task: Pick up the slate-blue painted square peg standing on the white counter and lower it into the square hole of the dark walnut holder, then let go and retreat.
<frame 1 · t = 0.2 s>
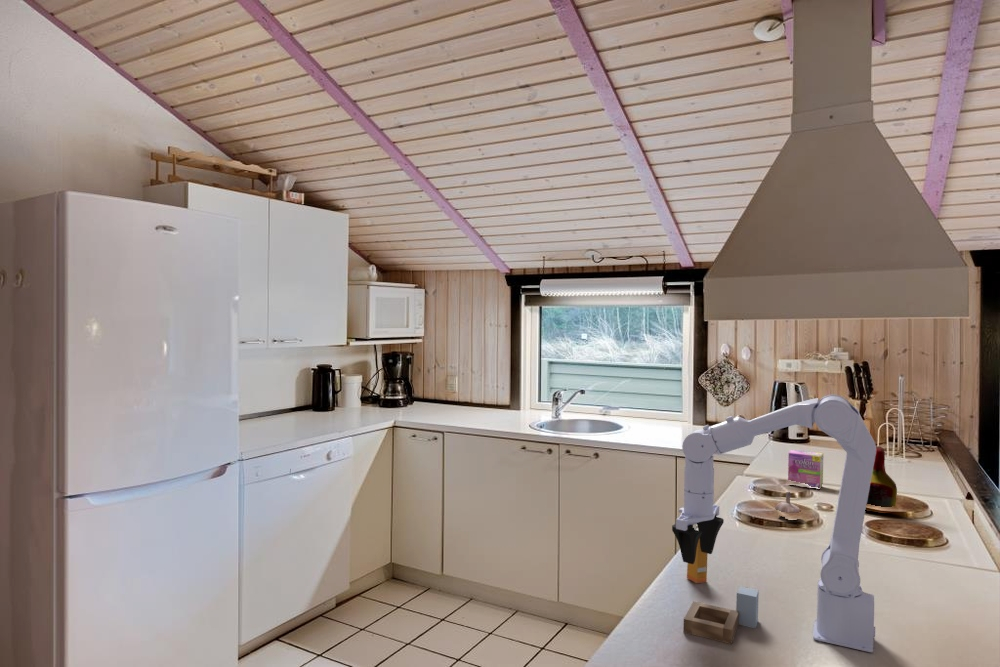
hand: (697, 557, 131), 10 cm above the countertop, fingers open, 7 cm apart
peg: (746, 622, 125), on the countertop
garlic bulb: (788, 519, 189), on the countertop
bottle: (873, 512, 197), on the countertop
walnut holder: (711, 628, 122), on the countertop
supplement box: (697, 581, 144), on the countertop
box: (805, 486, 226), on the countertop
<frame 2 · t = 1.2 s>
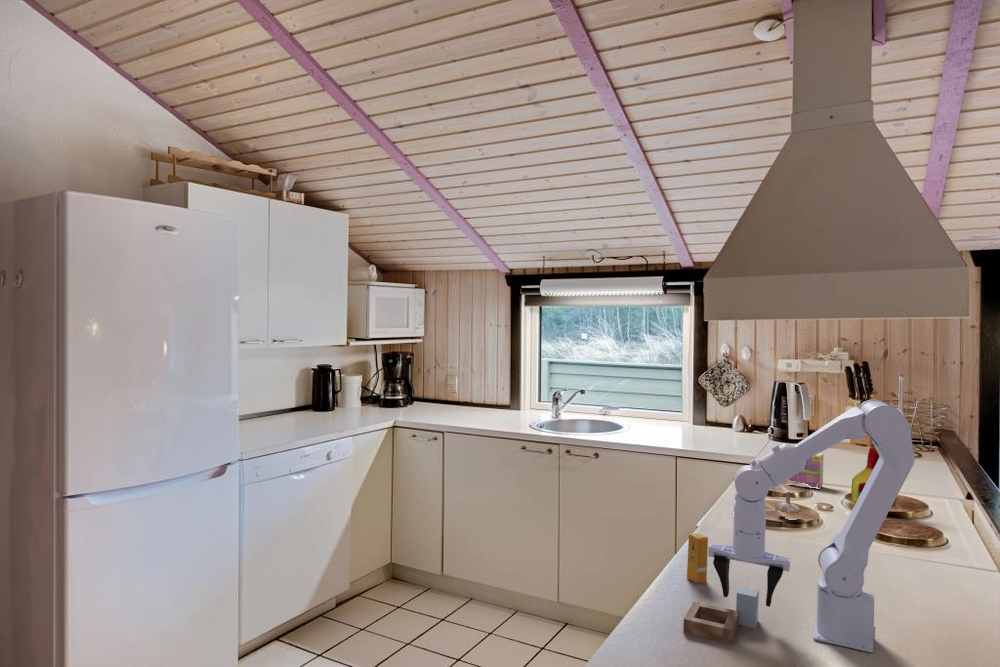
hand: (746, 599, 125), 4 cm above the countertop, fingers open, 7 cm apart
nothing on the countertop moved.
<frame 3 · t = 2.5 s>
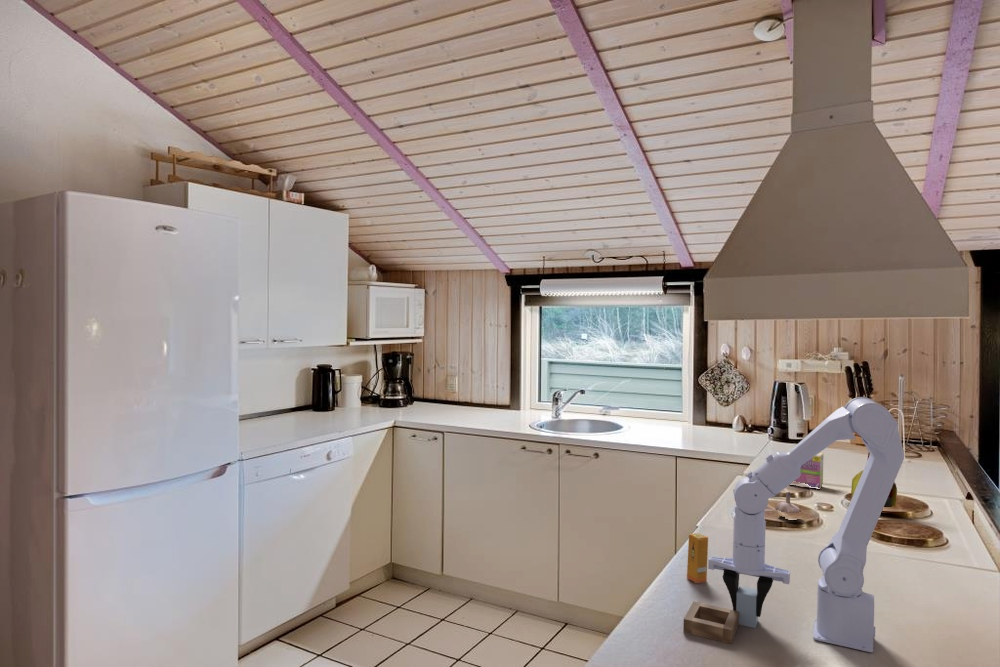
hand: (747, 612, 125), 2 cm above the countertop, fingers closed on peg, 3 cm apart
peg: (746, 622, 125), on the countertop, touching gripper
everything else where it was.
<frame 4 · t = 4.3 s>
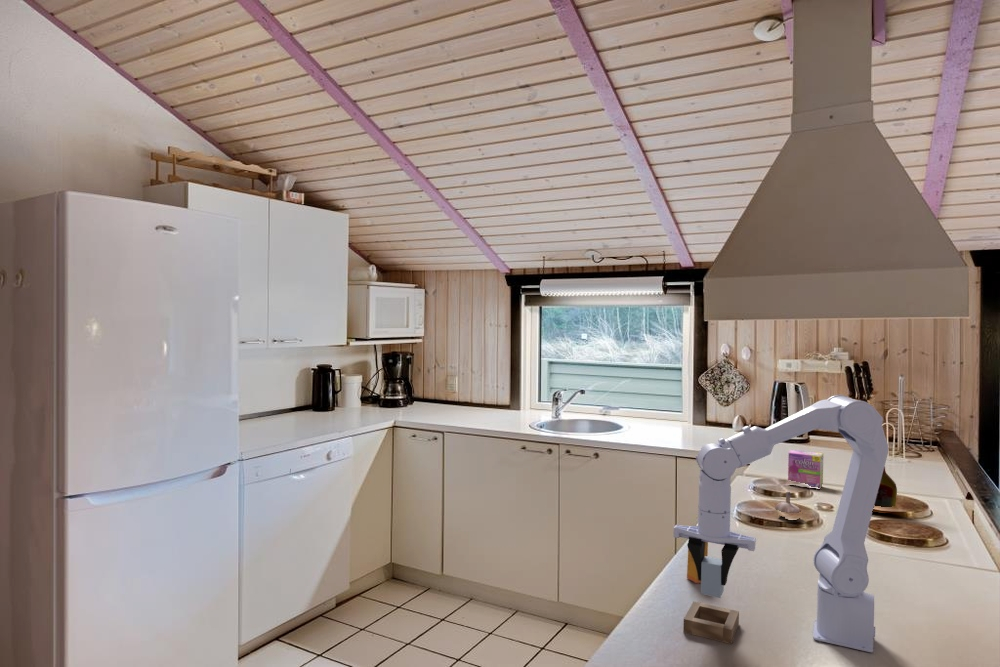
hand: (712, 581, 122), 9 cm above the countertop, fingers closed on peg, 3 cm apart
peg: (712, 592, 122), point 7 cm above the countertop, touching gripper
everything else where it was.
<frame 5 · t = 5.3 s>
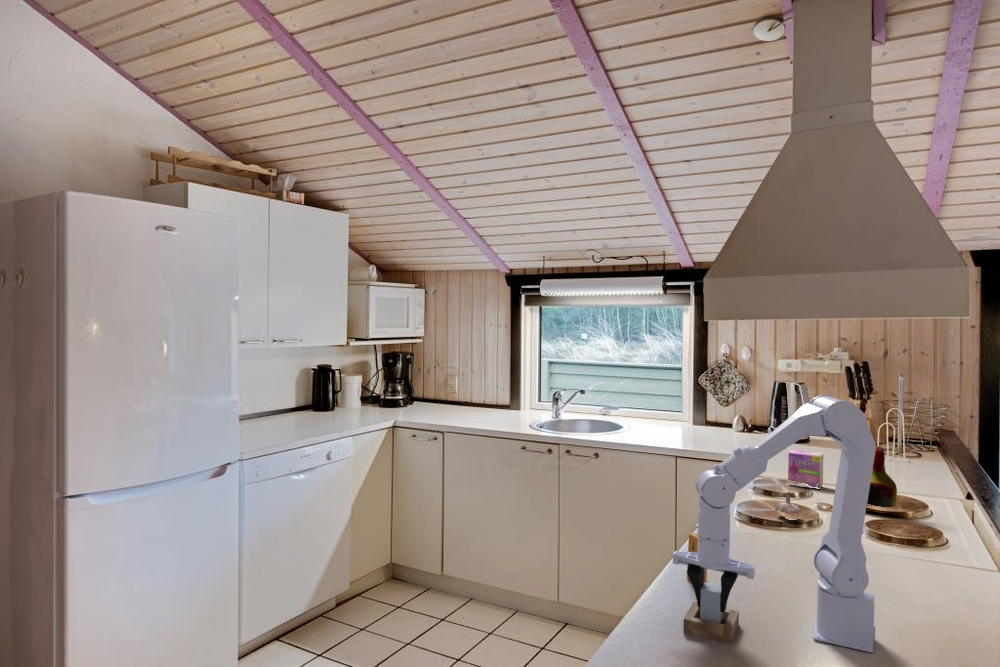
hand: (711, 607, 122), 4 cm above the countertop, fingers closed on peg, 3 cm apart
peg: (711, 619, 122), point 2 cm above the countertop, touching gripper
everything else where it was.
when the fingers open (3 cm above the countertop, at t = 6.2 s): peg drops 1 cm, resting in walnut holder.
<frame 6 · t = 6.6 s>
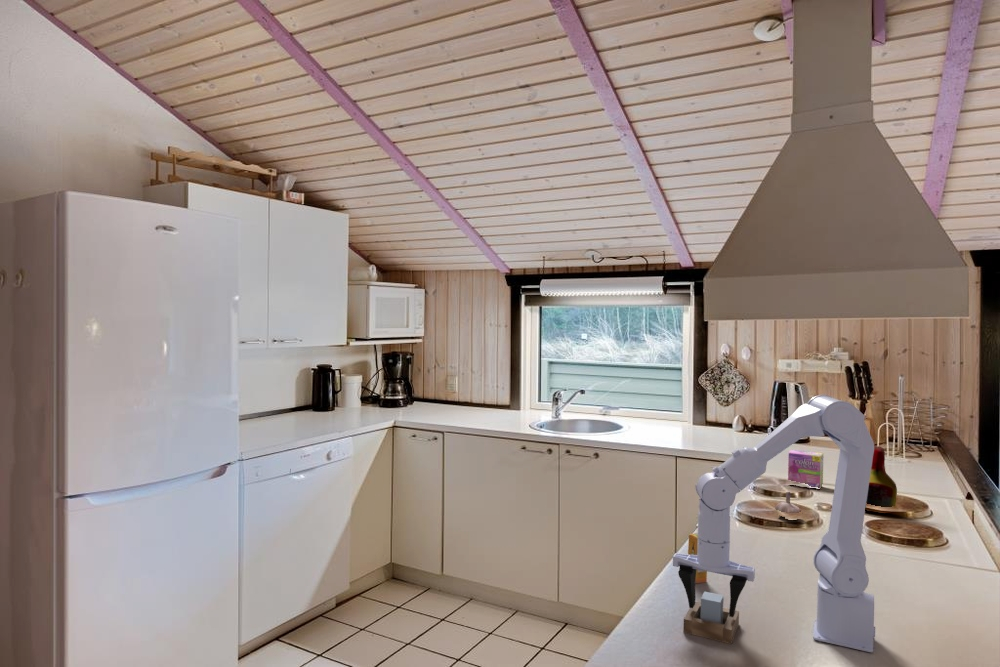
hand: (711, 610, 122), 3 cm above the countertop, fingers open, 7 cm apart
peg: (711, 628, 122), resting in walnut holder
everything else where it was.
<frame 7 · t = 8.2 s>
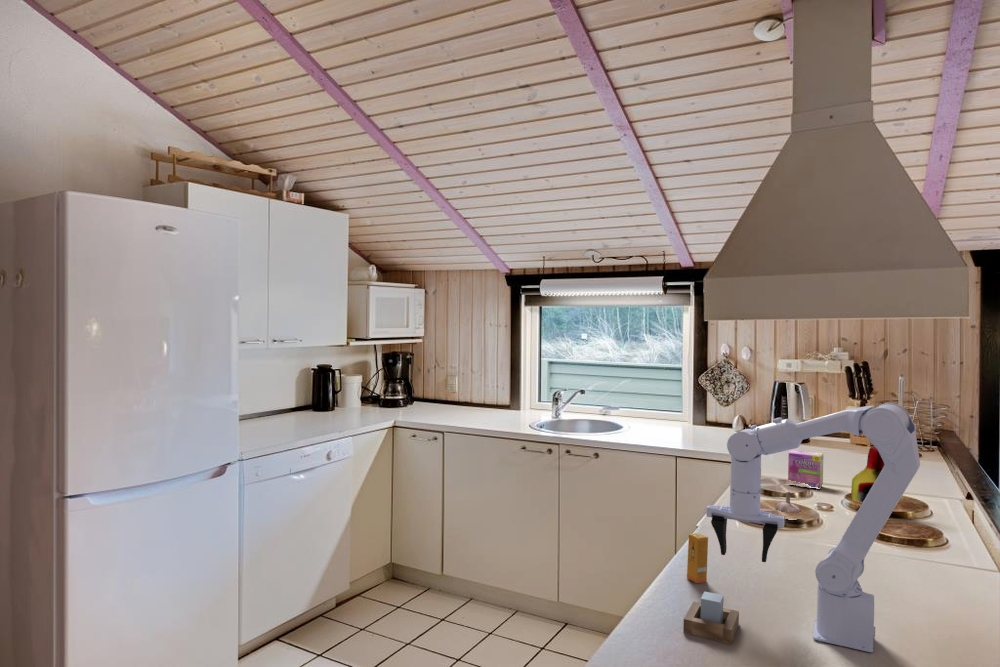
hand: (743, 556, 130), 10 cm above the countertop, fingers open, 7 cm apart
nothing on the countertop moved.
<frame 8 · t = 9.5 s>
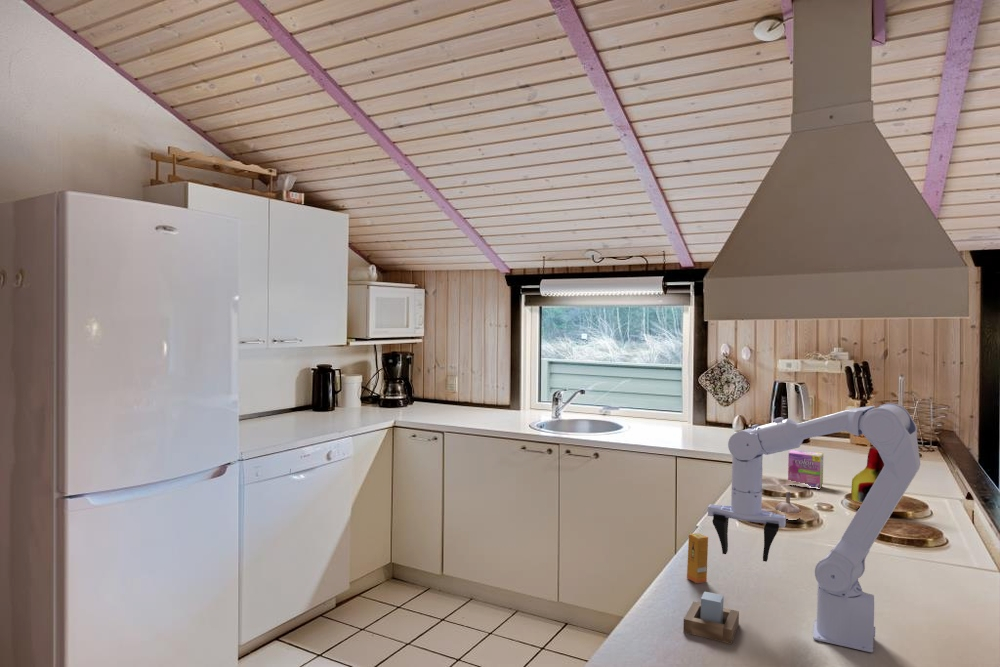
hand: (744, 556, 131), 10 cm above the countertop, fingers open, 7 cm apart
nothing on the countertop moved.
at the end: peg 0.0 cm off-centre on the walnut holder, point 0.0 cm above the walnut holder's base; peg tilted 0°; the gripper is holding nothing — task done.
